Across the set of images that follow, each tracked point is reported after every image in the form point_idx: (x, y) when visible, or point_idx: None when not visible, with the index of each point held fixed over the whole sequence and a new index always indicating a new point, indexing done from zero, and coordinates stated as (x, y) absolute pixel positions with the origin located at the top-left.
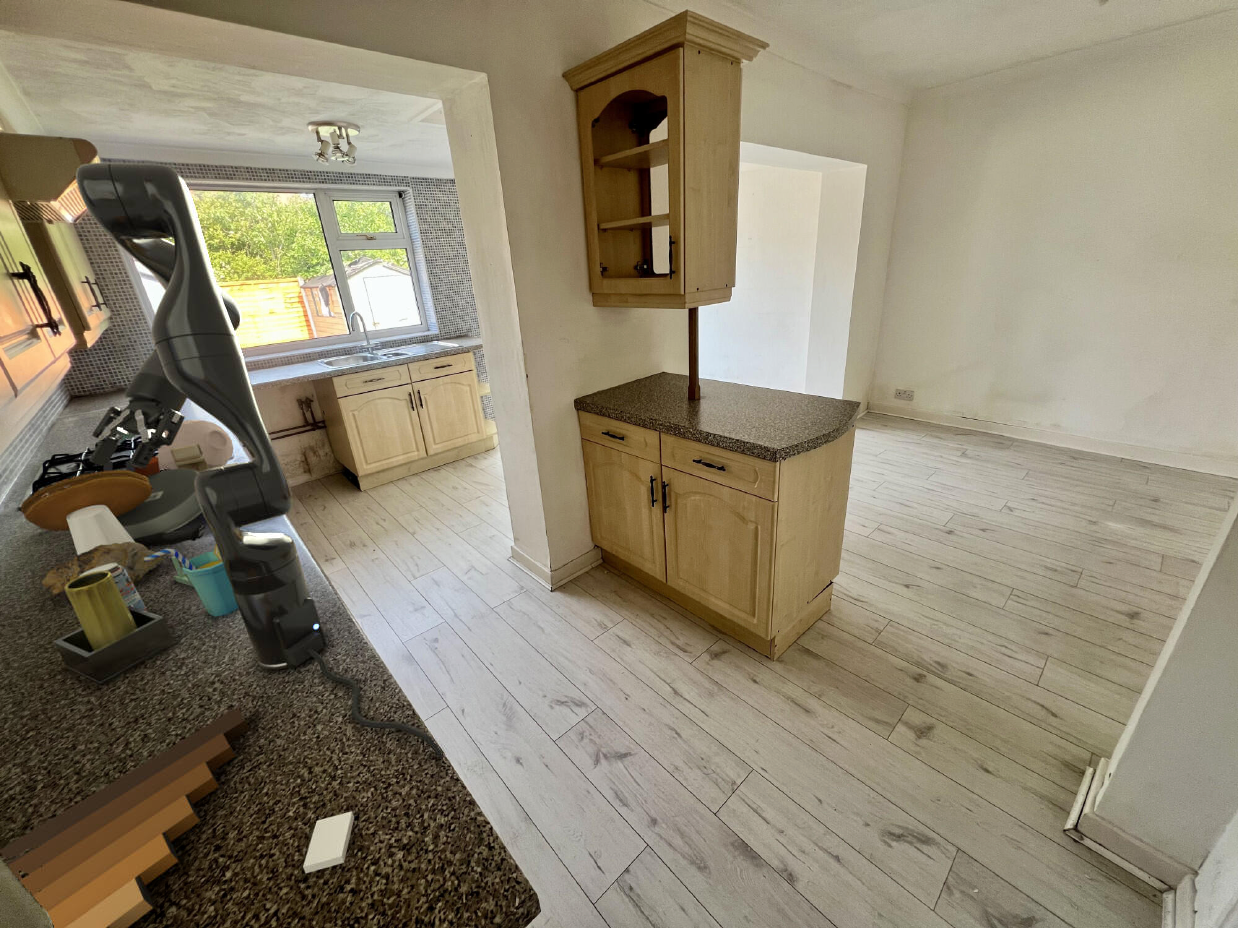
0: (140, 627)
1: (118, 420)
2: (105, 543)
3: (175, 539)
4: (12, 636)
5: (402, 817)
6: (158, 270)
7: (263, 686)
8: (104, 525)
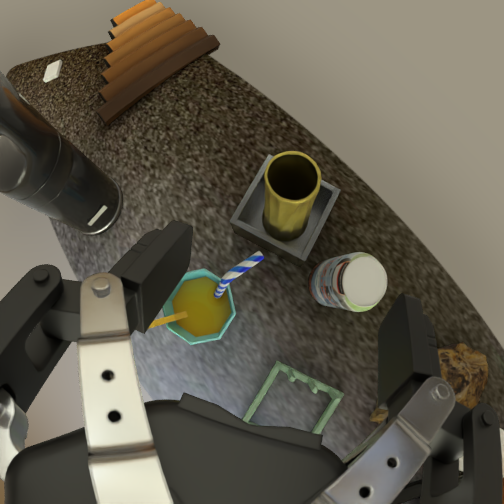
0: (245, 202)
1: (368, 492)
2: None
3: (405, 486)
4: (451, 279)
5: (29, 86)
6: None
7: (106, 160)
8: None
